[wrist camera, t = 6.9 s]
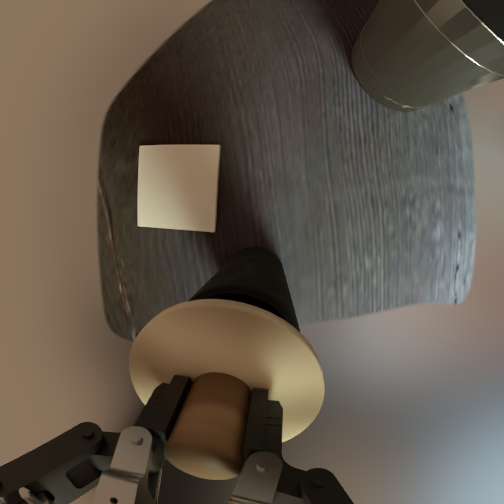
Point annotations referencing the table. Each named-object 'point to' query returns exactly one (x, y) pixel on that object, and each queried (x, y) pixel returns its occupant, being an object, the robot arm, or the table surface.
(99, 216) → the table surface
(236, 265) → the cup
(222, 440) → the lid
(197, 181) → the plate
